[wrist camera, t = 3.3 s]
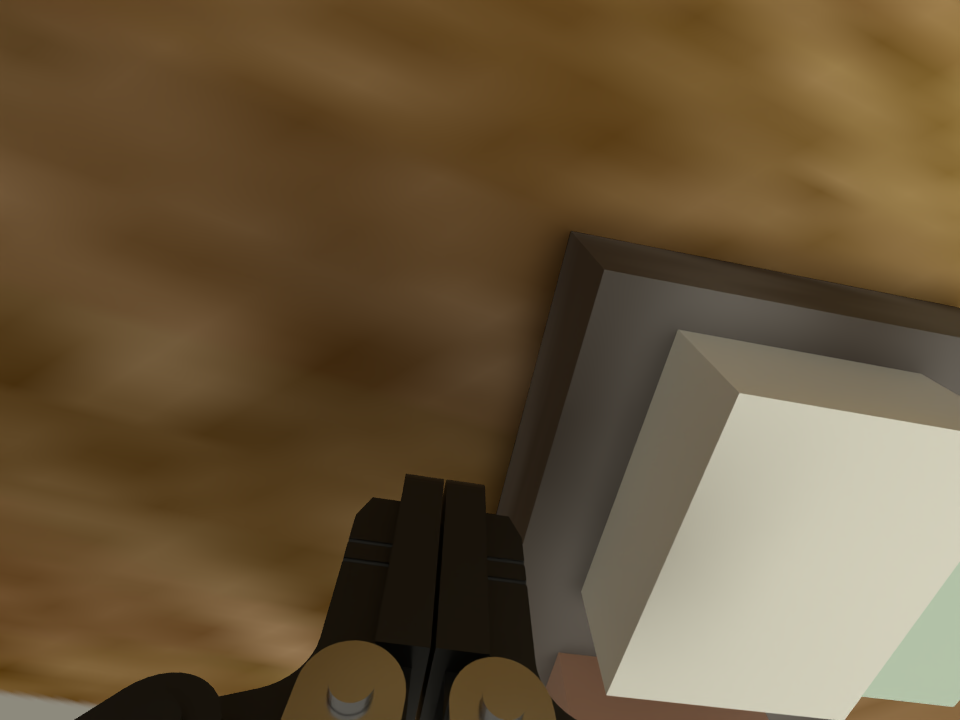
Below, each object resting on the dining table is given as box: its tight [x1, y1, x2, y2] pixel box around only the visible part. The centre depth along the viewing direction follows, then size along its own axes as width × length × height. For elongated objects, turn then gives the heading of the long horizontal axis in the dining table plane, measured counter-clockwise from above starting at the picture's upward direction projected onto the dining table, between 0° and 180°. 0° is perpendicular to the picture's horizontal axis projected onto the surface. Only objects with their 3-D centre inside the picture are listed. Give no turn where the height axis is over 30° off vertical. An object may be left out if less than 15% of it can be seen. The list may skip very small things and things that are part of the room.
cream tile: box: [581, 330, 960, 720], centre depth 13 cm, size 6×8×3 cm
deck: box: [496, 231, 960, 720], centre depth 17 cm, size 12×17×4 cm
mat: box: [862, 562, 960, 707], centre depth 20 cm, size 9×16×1 cm, turn 169°
